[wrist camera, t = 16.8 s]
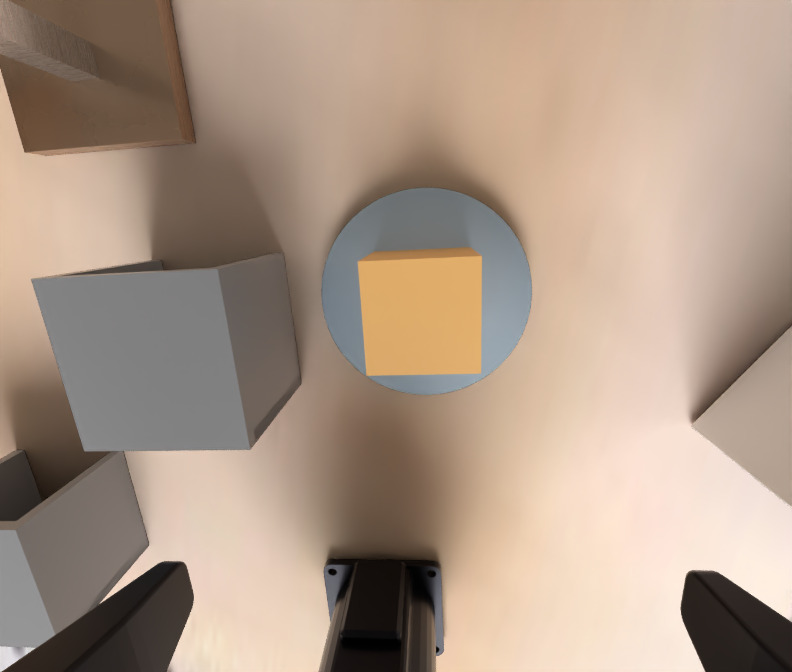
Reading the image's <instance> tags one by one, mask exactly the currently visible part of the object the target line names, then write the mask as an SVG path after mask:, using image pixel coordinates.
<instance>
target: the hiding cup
mask: <svg viewBox="0 0 792 672" xmlns="http://www.w3.org/2000/svg"><path fill="white" fill-rule="evenodd" d="M148 546H149V543H148V539H147V535H146V532H145V528H144V525H143V521H142V517H141V514H140V510H139V507H138V503H137V499H136V496H135V492H134V489H133V485H132V481H131V478H130V474H129V470H128V467H127V463H126V460H125V456H124V452H123V451H111V452H110V453H108V454H107V455H106V456H104V457H103V458H102V459H100V460H99V461H97V462H96V463H95V464H93V465H92V466H91V467H89V468H88V469H87V470H85V471H84V472H83V473H81V474H80V475H78V476H77V477H76V478H74V479H73V480H72V481H70V482H69V483H68V484H66V485H65V486H64V487H62V488H61V489H59V490H58V491H57V492H55V493H54V494H53V495H51V496H50V497H49V498H47V499H46V500H44V501H43V502H42V499H41V496H40V494H39V491H38V488H37V485H36V482H35V479H34V477H33V474H32V471H31V468H30V465H29V462H28V460H27V457H26V454H25V451H24V450H16V451H14V452H12V453H10V454H8V455H7V456H5V457H3V458H1V459H0V646H8V647H33V648H37V647H38V646H40V645H41V644H43V643H44V642H45V641H47V640H48V639H50V638H51V637H53V636H54V635H56V634H57V633H59V632H60V631H61V630H63V629H64V628H66V627H67V626H69V625H70V624H72V623H73V622H74V621H76V620H77V619H79V618H80V617H82V616H83V615H85V614H86V613H88V612H89V611H90V610H92V609H93V608H95V607H96V606H98V605H99V603H100V602H101V601H102V600H103V599H104V598H105V596H106V595H107V594H108V593H109V592H110V591H111V589H112V588H113V587H114V586H115V585H116V583H117V582H118V581H119V580H120V579H121V578H122V576H123V575H124V574H125V573H126V572H127V571H128V569H129V568H130V567H131V566H132V565H133V564H134V562H135V561H136V560H137V559H138V558H139V557H140V555H141V554H142V553H143V552H144V551H145V550H146V548H147V547H148Z"/></svg>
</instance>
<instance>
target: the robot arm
mask: <svg viewBox="0 0 792 672" xmlns="http://www.w3.org/2000/svg"><path fill="white" fill-rule="evenodd" d="M331 568H333V569H335V570H333V569H331ZM429 570H433V571H429ZM324 578H325V586H326V593H327V600H328V607H329V615H330V622H331V623H330V627H329V631H328V636H327V640H326V644H325V648H324V652H323V656H322V660H321V664H320V668H319V672H436V656H439V655H441V654H442V653H443V651H444V639H443V613H442V587H441V567H440V565H439V563H437V562H436V561H431V560H367V559H330V560H328V561H327V562H326V564H325V567H324ZM193 601H194V594H193V589H192V585H191V581H190V577H189V573H188V570H187V566H186V565H185V563H184V562H181V561H164V562H161V563H159V564H157V565H156V566H154V567H153V568H151V569H150V570H148V571H147V572H145V573H144V574H143V575H141V576H140V577H138V578H137V579H135V580H134V581H132V582H131V583H130V584H128V585H127V586H125V587H124V588H122V589H121V590H119V591H118V592H117V593H115V594H114V595H112V596H111V597H109V598H108V599H106V600H105V601H103V602H102V603H101V604H99V605H98V606H96V607H95V608H93V609H92V610H90V611H89V612H88V613H86V614H85V615H83V616H82V617H80V618H79V619H77V620H76V621H74V622H73V623H72V624H70V625H69V626H67V627H66V628H64V629H63V630H61V631H60V632H59V633H57V634H56V635H54V636H53V637H51V638H50V639H48V640H47V641H45V642H44V643H43V644H41V645H40V646H38V647H37V648H35V649H34V650H32V651H31V652H30V653H28V654H27V655H25V656H24V657H22V658H21V659H19V660H18V661H16V662H15V663H14V664H12V665H11V666H9V667H8V668H6V669H5V670H3V671H2V672H166V671H167V669H168V666H169V664H170V661H171V659H172V656H173V654H174V652H175V649H176V647H177V644H178V642H179V639H180V637H181V634H182V632H183V629H184V627H185V624H186V622H187V619H188V617H189V615H190V612H191V609H192V606H193ZM681 615H682V619H683V622H684V625H685V627H686V629H687V632H688V634H689V636H690V638H691V641H692V643H693V645H694V647H695V650H696V652H697V654H698V656H699V659H700V661H701V663H702V666H703V668H704V670H705V672H792V622H791V621H789V620H788V619H786V618H785V617H783V616H782V615H780V614H779V613H777V612H776V611H774V610H773V609H772V608H770V607H769V606H767V605H766V604H764V603H763V602H761V601H760V600H758V599H757V598H755V597H754V596H752V595H751V594H749V593H748V592H746V591H745V590H743V589H742V588H741V587H739V586H738V585H736V584H735V583H733V582H732V581H730V580H729V579H727V578H726V577H724V576H723V575H721V574H720V573H718V572H715V571H703V570H692V571H689V572H688V573H687V574H686V578H685V584H684V590H683V595H682V601H681Z"/></svg>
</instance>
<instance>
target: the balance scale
mask: <svg viewBox="0 0 792 672" xmlns="http://www.w3.org/2000/svg"><path fill="white" fill-rule="evenodd" d="M0 69H1V72H2V76H3V79H4V83H5V86H6V89H7V93H8V96H9V100H10V103H11V107H12V110H13V114H14V117H15V121H16V124H17V128H18V131H19V135H20V138H21V141H22V145H23V148H24V152H26V153H32V154H38V155H45V156H49V155H61V154H72V153H84V152H96V151H108V150H119V149H131V148H143V147H155V146H166V145H178V144H190V143H196V142H195V137H194V131H193V126H192V120H191V115H190V109H189V104H188V98H187V93H186V87H185V81H184V76H183V70H182V65H181V59H180V54H179V48H178V43H177V37H176V32H175V26H174V21H173V15H172V9H171V4H170V0H0Z"/></svg>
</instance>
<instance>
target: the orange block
mask: <svg viewBox="0 0 792 672" xmlns="http://www.w3.org/2000/svg"><path fill="white" fill-rule="evenodd" d="M358 272H359V285H360V298H361V311H362V324H363V337H364V350H365V363H366V376H380V375H434V374H481V327H482V256H481V255H480V254H479V253H477V252H476V251H475V250H473V249H472V248H471V247H459V248H438V249H417V250H395V251H374V252H372V253H371V254H369V255H367V256H366V257H364V258H363V259H361V260H359V261H358Z"/></svg>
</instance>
